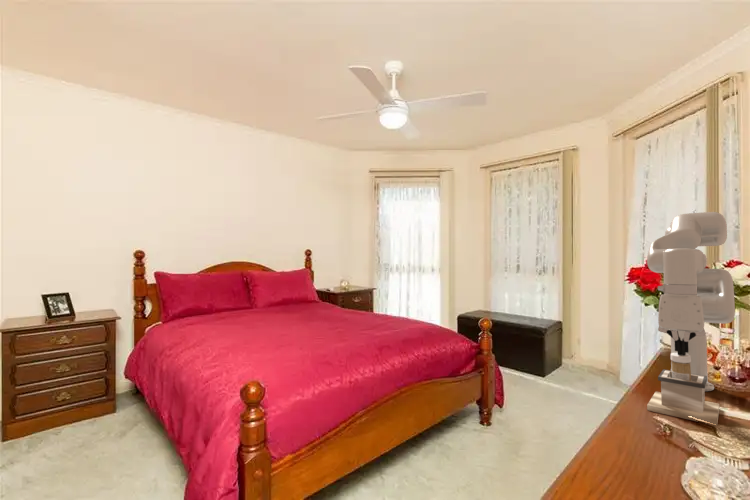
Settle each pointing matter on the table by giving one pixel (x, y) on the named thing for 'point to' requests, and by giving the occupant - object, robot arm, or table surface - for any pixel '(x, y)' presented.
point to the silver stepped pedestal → (683, 398)
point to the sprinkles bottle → (681, 366)
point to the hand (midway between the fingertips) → (681, 354)
